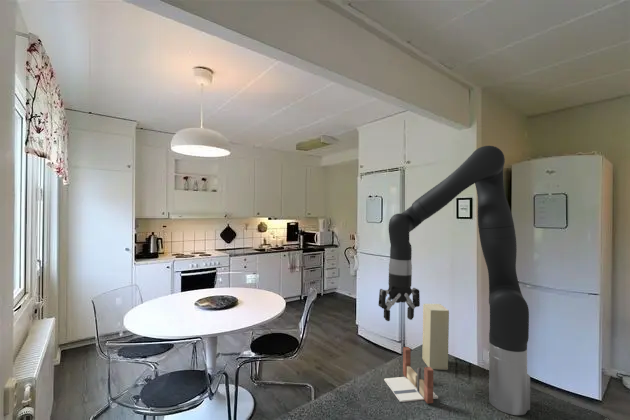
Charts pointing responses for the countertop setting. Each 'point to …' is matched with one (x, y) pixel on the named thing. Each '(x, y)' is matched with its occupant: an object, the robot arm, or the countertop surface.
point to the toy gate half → (408, 366)
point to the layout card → (405, 389)
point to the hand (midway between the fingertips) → (398, 319)
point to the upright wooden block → (435, 336)
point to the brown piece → (425, 384)
